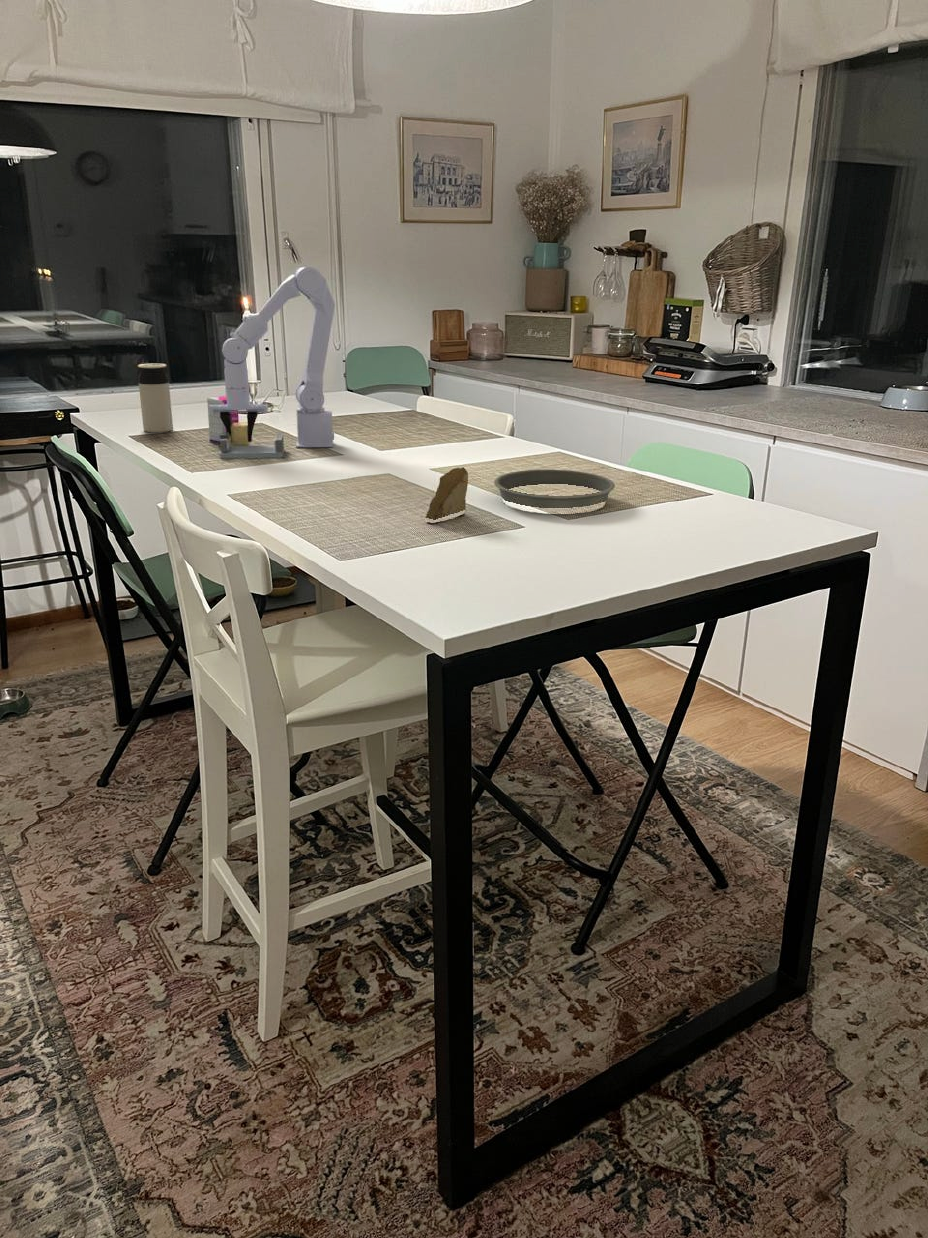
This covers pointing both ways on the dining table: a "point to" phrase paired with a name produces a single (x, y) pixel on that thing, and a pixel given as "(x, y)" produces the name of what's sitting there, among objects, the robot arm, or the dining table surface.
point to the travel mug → (155, 398)
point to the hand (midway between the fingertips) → (240, 441)
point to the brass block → (239, 434)
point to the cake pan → (553, 477)
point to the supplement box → (218, 419)
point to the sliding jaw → (225, 441)
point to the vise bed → (257, 450)
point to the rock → (449, 494)
